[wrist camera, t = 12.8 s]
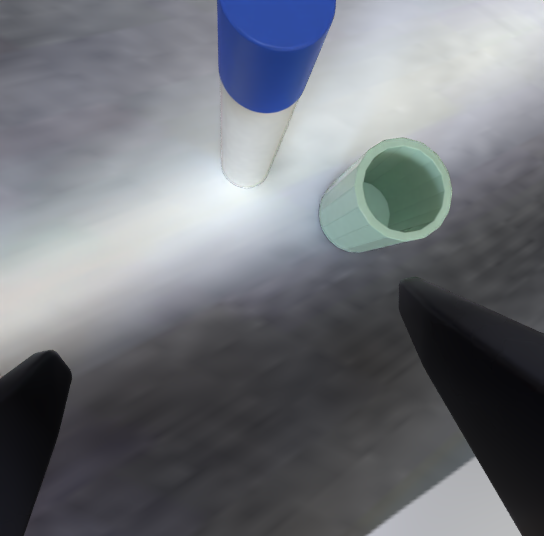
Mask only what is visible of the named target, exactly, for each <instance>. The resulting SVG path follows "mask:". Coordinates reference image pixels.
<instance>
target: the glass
mask: <svg viewBox="0 0 544 536" xmlns="http://www.w3.org/2000/svg"><path fill="white" fill-rule="evenodd" d="M451 197H452V187H451V182H450V177H449V173H448V170H447V169H446V167H445V166H444V164H443V162H442V161H441V159H440V158H439V156H438V155H437V154H436V153H435V152H434V151H432V150H431V149H430V148H428V147H427V146H426V145H424V144H423V143H421V142H418V141H414V140H411V139H407V138H396V139H389V140H384V141H382V142H380V143H379V144H377V145H376V146H374V147H373V148H371V149H369V150H368V151H367V152H366V153H365V154H364V155H363V156H362V157H361V158H360V159H359V160H357V161H356V162H355V163H354V164H353V165H352V166H351V167H350V168H349V169H348V170H347V171H346V172H345V173H343V174H342V175H341V176H340V177H339V178H338V179H337V180H336V181H335V182H334V183H333V184H332V185H331V186H330V187H329V188H328V190H327V191H326V192H325V194H324V196H323V197H322V200H321V203H320V208H319V219H320V224H321V227H322V229H323V232H324V233H325V235H326V236H327V238H328V239H329V240H330V241H331V242H332V243H333V244H334V245H335V246H337V247H338V248H340V249H342V250H345V251H348V252H353V253H361V252H366V251H371V250H376V249H380V248H384V247H388V246H393V245H397V244H401V243H405V242H410V241H414V240H418V239H422V238H425V237H426V236H428V235H429V234H431V233H432V232H433V231H435V230H436V229H438V228H439V227H440V225H441V224H442V222H443V220H444V219H445V217H446V215H447V214H448V212H449V210H450V204H451Z"/></svg>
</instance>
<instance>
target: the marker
mask: <svg viewBox="0 0 544 536" xmlns="http://www.w3.org/2000/svg"><path fill="white" fill-rule="evenodd" d="M335 8H336V0H217V11H218V64H219V74H220V99H221V166H222V170H223V173H224V175H225V177H226V178H227V179H228V180H229V181H230V182H231V183H232V184H234V185H236V186H238V187H242V188H251V187H255V186H257V185H259V184H261V183H262V182H263V181H264V180H265V178H266V177H267V175H268V173H269V170H270V168H271V165H272V163H273V161H274V158H275V156H276V153H277V151H278V148H279V146H280V143H281V141H282V138H283V136H284V134H285V131H286V129H287V126H288V124H289V121H290V119H291V116H292V114H293V111H294V109H295V107H296V104H297V102H298V99H299V97H300V96H301V95H302V93H303V91H304V88H305V86H306V84H307V81H308V79H309V76H310V74H311V72H312V69H313V67H314V64H315V62H316V60H317V57H318V55H319V52H320V50H321V48H322V45H323V43H324V40H325V38H326V35H327V33H328V31H329V28H330V26H331V23H332V21H333V18H334V14H335Z"/></svg>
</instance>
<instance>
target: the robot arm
mask: <svg viewBox="0 0 544 536" xmlns="http://www.w3.org/2000/svg"><path fill="white" fill-rule="evenodd" d="M399 311H400V314H401V316H402V319H403V321H404V323H405V326H406V328H407V330H408V332H409V335H410V337H411V339H412V342H413V344H414V346H415V348H416V351H417V353H418V355H419V358H420V360H421V362H422V364H423V366H424V368H425V370H426V372H427V374H428V375H429V377H430V379H431V381H432V382H433V384H434V386H435V387H436V389H437V391H438V393H439V394H440V396H441V398H442V399H443V401H444V403H445V405H446V406H447V408H448V410H449V411H450V413H451V415H452V417H453V418H454V420H455V422H456V423H457V425H458V427H459V429H460V430H461V432H462V434H463V435H464V437H465V439H466V441H467V442H468V444H469V446H470V447H471V449H472V451H473V453H474V454H475V456H476V458H477V459H478V461H479V463H480V464H481V466H482V468H483V469H484V471H485V473H486V475H487V476H488V478H489V480H490V482H491V483H492V485H493V487H494V488H495V490H496V492H497V493H498V495H499V497H500V499H501V500H502V502H503V504H504V506H505V507H506V509H507V511H508V512H509V514H510V516H511V518H512V519H513V521H514V523H515V524H516V526H517V528H518V530H519V531H520V533H521V535H522V536H544V334H543V333H541V332H539V331H536V330H534V329H532V328H530V327H527V326H525V325H523V324H521V323H519V322H516V321H514V320H512V319H510V318H507V317H505V316H503V315H501V314H499V313H496V312H494V311H492V310H490V309H488V308H485V307H483V306H481V305H479V304H476V303H474V302H472V301H470V300H468V299H465V298H463V297H461V296H459V295H456V294H454V293H452V292H450V291H448V290H445V289H443V288H441V287H439V286H436V285H434V284H432V283H430V282H428V281H425V280H423V279H421V278H418V277H413V278H408V279H403V280H401V281H400V283H399ZM71 380H72V374H71V371H70V369H69V368H68V366H67V365H66V364H65V362H64V361H63V360H62V358H61V357H60V356H59V354H58V353H57V352H55V351H54V350H47V351H42V352H38V353H35V354H33V355H32V356H30V357H29V358H28V359H26V360H25V361H24V362H22V363H21V364H20V365H18V366H17V367H15V368H14V369H13V370H11V371H10V372H9V373H7V374H6V375H5V376H3V377H2V378H0V536H24V533H25V530H26V527H27V524H28V522H29V519H30V516H31V513H32V510H33V507H34V504H35V501H36V498H37V496H38V493H39V490H40V487H41V484H42V481H43V478H44V475H45V472H46V470H47V467H48V464H49V461H50V458H51V455H52V452H53V449H54V446H55V443H56V440H57V437H58V434H59V430H60V426H61V422H62V418H63V414H64V409H65V405H66V401H67V397H68V393H69V389H70V384H71Z"/></svg>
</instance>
